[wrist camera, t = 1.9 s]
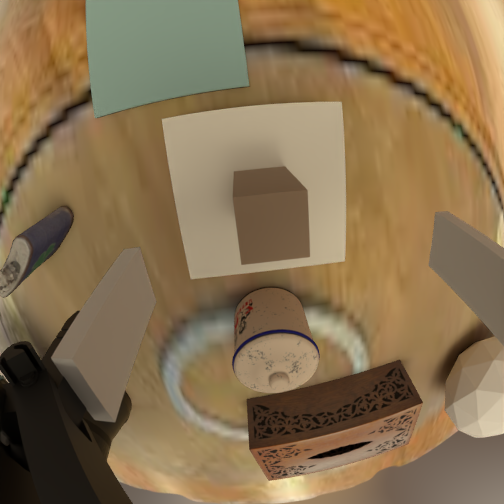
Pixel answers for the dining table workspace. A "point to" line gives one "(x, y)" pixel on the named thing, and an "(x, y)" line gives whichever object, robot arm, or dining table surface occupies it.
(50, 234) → the flask
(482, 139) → the dining table surface
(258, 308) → the teacup with lid
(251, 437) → the tissue box cover
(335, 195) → the lid
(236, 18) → the mat
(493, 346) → the ball
